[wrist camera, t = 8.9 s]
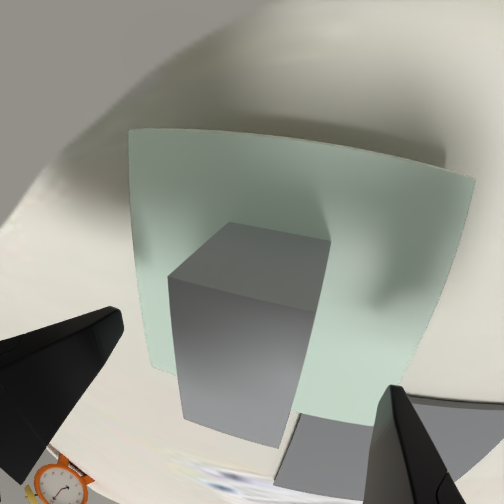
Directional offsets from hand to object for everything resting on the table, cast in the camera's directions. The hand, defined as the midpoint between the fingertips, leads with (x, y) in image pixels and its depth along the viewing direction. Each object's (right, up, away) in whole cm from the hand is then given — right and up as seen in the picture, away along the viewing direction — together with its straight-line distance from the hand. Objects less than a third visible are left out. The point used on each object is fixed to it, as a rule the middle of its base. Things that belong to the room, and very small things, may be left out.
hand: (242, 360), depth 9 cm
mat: (+10, -12, +8) cm, 17 cm away
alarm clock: (-42, -49, +43) cm, 77 cm away
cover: (+1, +2, +3) cm, 4 cm away
